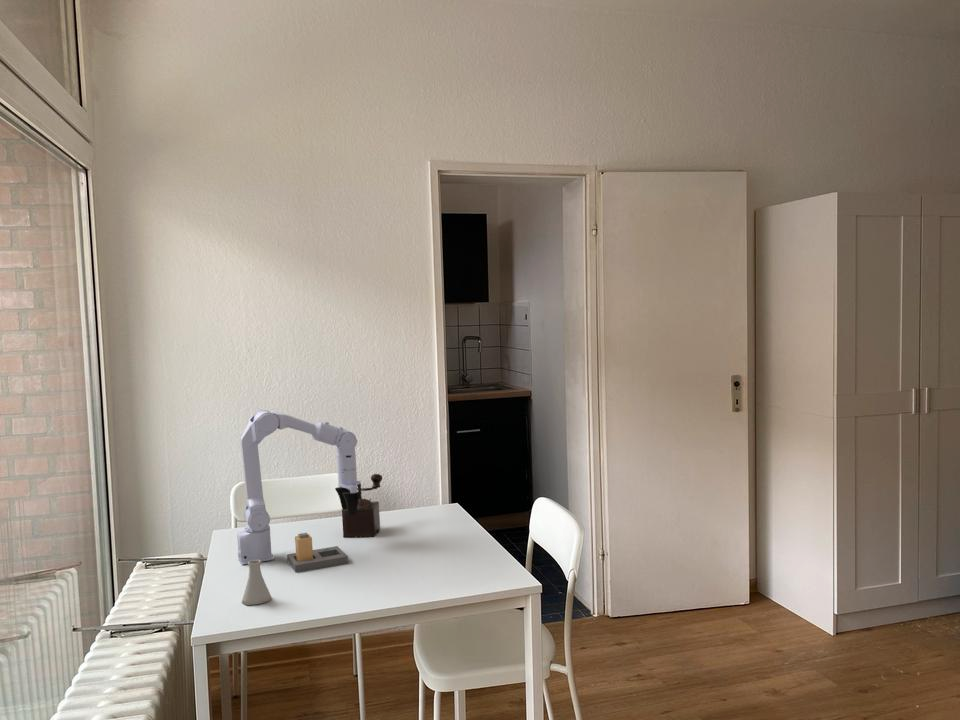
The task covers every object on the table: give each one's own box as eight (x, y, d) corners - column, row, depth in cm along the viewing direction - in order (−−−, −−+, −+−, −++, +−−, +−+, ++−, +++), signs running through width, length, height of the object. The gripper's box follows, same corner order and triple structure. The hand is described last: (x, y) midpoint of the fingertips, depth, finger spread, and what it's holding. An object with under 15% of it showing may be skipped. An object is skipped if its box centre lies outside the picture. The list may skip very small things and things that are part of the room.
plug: (299, 567, 215) (297, 536, 214) (296, 563, 218) (294, 533, 218) (313, 565, 216) (311, 534, 216) (310, 561, 220) (308, 531, 220)
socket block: (295, 572, 210) (295, 564, 210) (287, 561, 221) (286, 553, 221) (348, 563, 217) (347, 555, 216) (337, 552, 227) (337, 545, 227)
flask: (243, 608, 185) (240, 568, 184) (240, 598, 191) (237, 560, 191) (273, 602, 188) (271, 563, 187) (269, 593, 194) (267, 555, 194)
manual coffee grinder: (376, 537, 242) (373, 482, 242) (342, 538, 243) (339, 482, 243) (386, 524, 258) (383, 472, 257) (354, 525, 259) (351, 473, 258)
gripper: (366, 470, 230) (368, 514, 231) (353, 463, 243) (355, 505, 244) (343, 473, 227) (345, 518, 228) (331, 466, 241) (333, 508, 241)
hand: (349, 511), depth 236 cm, fingers open, 7 cm apart
